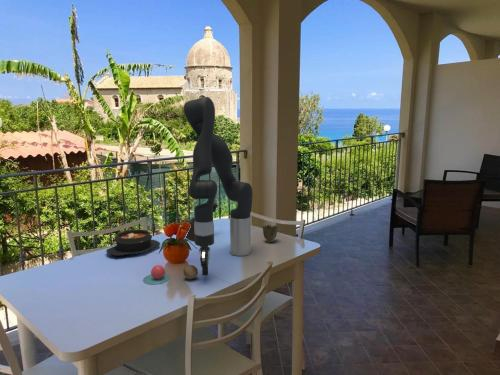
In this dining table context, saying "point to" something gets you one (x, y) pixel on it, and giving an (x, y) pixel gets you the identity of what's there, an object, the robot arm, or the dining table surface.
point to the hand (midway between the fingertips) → (205, 274)
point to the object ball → (158, 272)
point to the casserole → (132, 243)
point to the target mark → (155, 280)
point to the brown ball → (190, 272)
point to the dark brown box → (191, 232)
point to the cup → (270, 233)
